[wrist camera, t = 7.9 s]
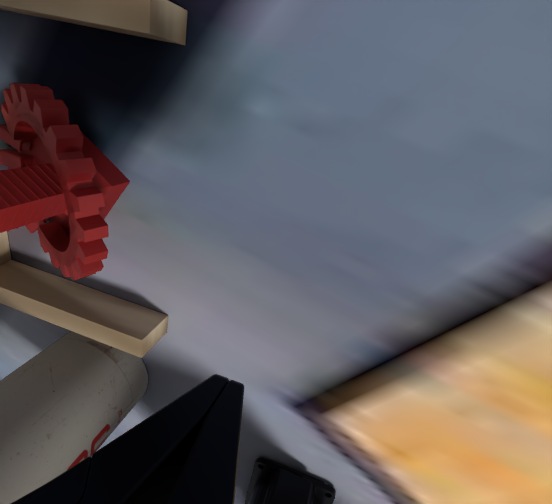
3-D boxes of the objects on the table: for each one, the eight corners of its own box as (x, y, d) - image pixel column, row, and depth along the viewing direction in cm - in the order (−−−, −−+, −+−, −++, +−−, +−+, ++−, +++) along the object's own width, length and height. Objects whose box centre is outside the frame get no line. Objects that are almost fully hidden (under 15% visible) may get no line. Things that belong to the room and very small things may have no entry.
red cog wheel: (-16, 91, 22) (-218, 81, 15) (145, 84, 19) (-10, 67, 11) (32, 247, 26) (-108, 301, 19) (170, 263, 23) (68, 335, 16)
